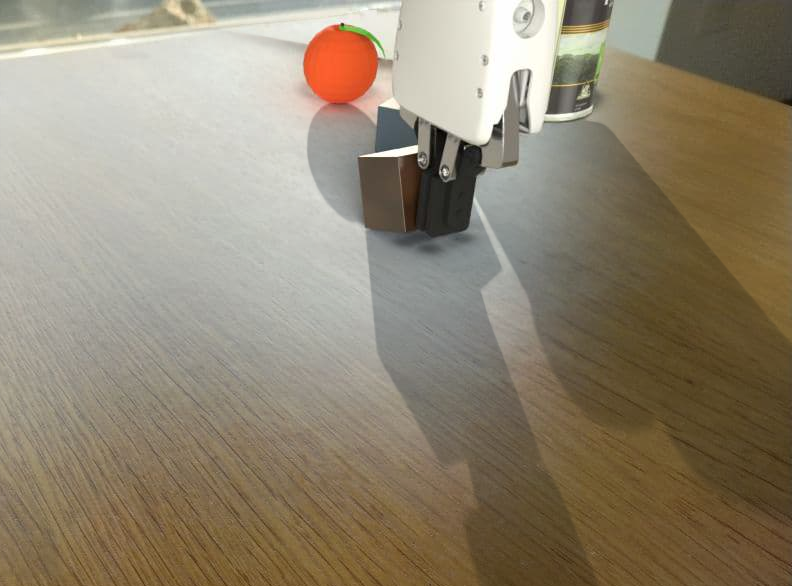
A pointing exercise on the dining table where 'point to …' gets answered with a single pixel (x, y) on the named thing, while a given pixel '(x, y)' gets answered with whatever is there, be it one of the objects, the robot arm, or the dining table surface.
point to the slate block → (392, 128)
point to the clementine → (341, 63)
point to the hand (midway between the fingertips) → (441, 229)
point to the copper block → (390, 189)
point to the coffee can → (577, 57)
